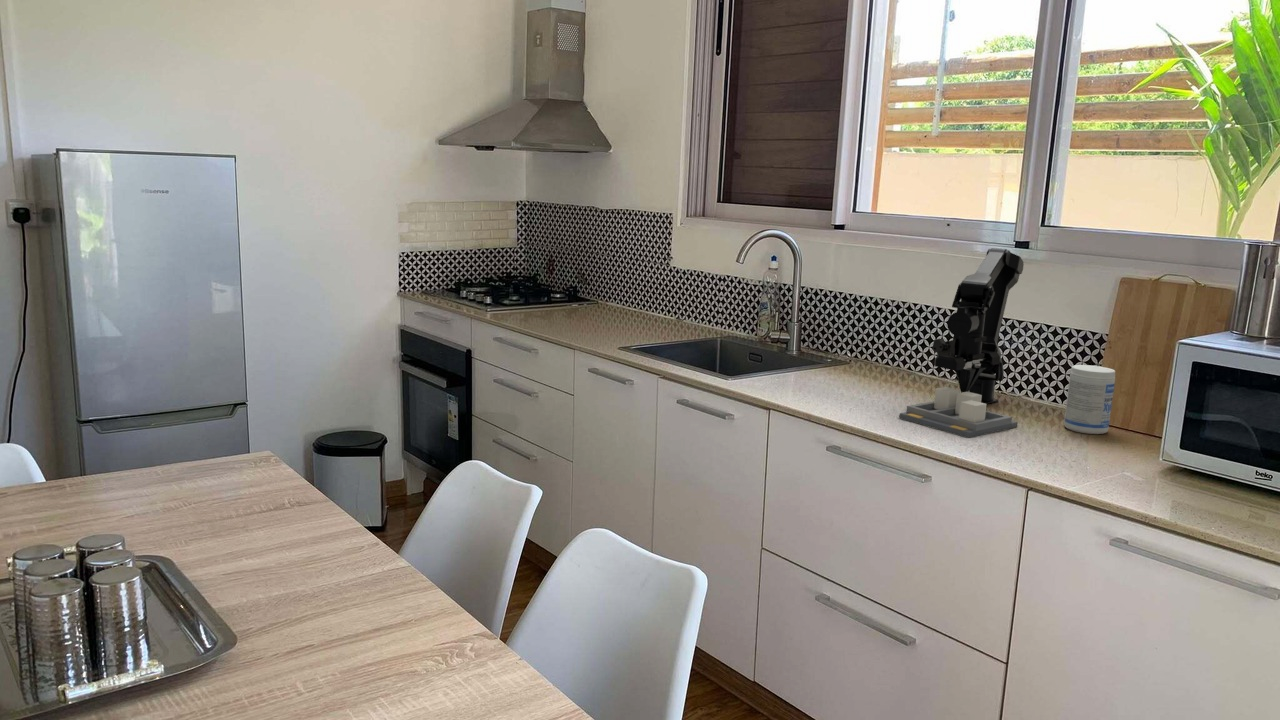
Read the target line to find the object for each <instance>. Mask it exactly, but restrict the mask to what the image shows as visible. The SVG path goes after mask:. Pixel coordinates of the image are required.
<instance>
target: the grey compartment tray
mask: <svg viewBox="0 0 1280 720" xmlns="http://www.w3.org/2000/svg"><path fill="white" fill-rule="evenodd" d="M934 402H935V400H933V401H929V402H923V403H921V402H920V403H916V404H912V405H911V404H910V405H906V411H905V412H900V413H899V417H898V419H900V420H905V421H908V422H912V423H915V424H919V425H921V426H925V427H929V428H931V429H932V428H933V429H935V430H940V431H943V432H947V433H950V434H953V435H957V436H961V437H964V438H966V439H967V438H968V439H969V438H974V437H978V436H982V435H987V434H993V433H995V432H996V433H998V432H1000V431H1001V432H1002V431H1005V430H1010V429H1014V428H1017V427H1018V421H1015V420H1013V416H1008V415H1005V414H1002V413H997V412H993V411H989V410H986V414H985V421H981V422H976V423H974V422H970V421H967V420H963V419H959V415H958V414H955V408H956V406H954V407H948V408H943V409H935V408H934Z"/></svg>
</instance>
